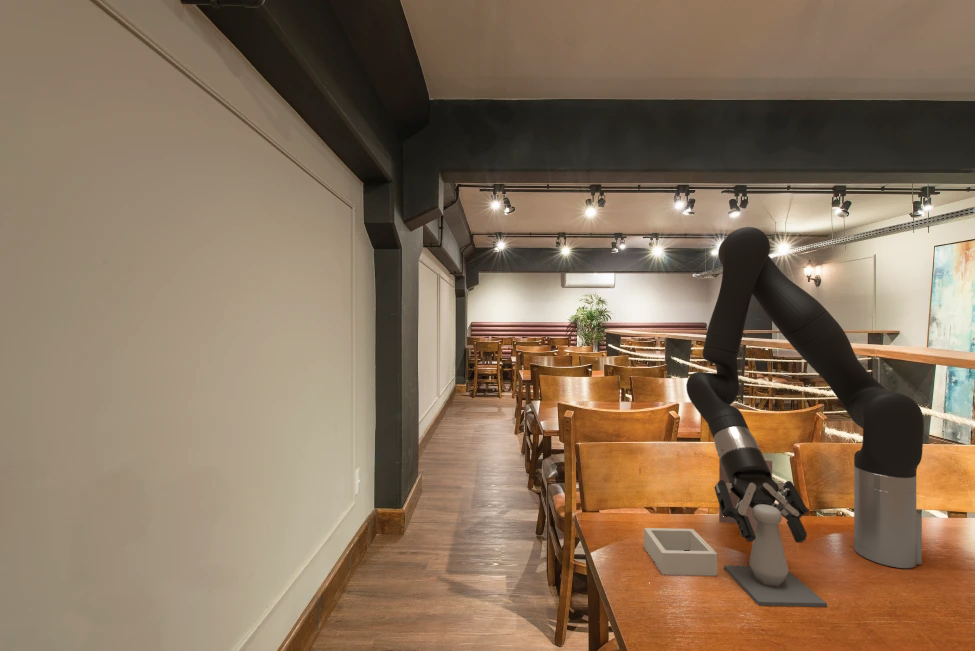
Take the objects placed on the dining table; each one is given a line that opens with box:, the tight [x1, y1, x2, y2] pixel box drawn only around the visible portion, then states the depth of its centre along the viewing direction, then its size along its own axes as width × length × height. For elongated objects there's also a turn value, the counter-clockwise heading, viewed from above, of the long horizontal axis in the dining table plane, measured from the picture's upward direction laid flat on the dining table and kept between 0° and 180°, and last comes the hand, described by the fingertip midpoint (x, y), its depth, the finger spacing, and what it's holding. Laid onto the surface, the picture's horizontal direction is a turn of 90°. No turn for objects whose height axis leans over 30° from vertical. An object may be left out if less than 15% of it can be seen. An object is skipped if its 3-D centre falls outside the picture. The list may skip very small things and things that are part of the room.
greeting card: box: [718, 457, 773, 537], centre depth 99 cm, size 11×7×15 cm, turn 81°
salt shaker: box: [748, 504, 789, 587], centre depth 78 cm, size 6×6×13 cm
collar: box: [643, 527, 718, 577], centre depth 85 cm, size 10×10×4 cm
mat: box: [723, 565, 828, 608], centre depth 77 cm, size 11×11×1 cm
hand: (776, 540), depth 76 cm, fingers open, 8 cm apart
